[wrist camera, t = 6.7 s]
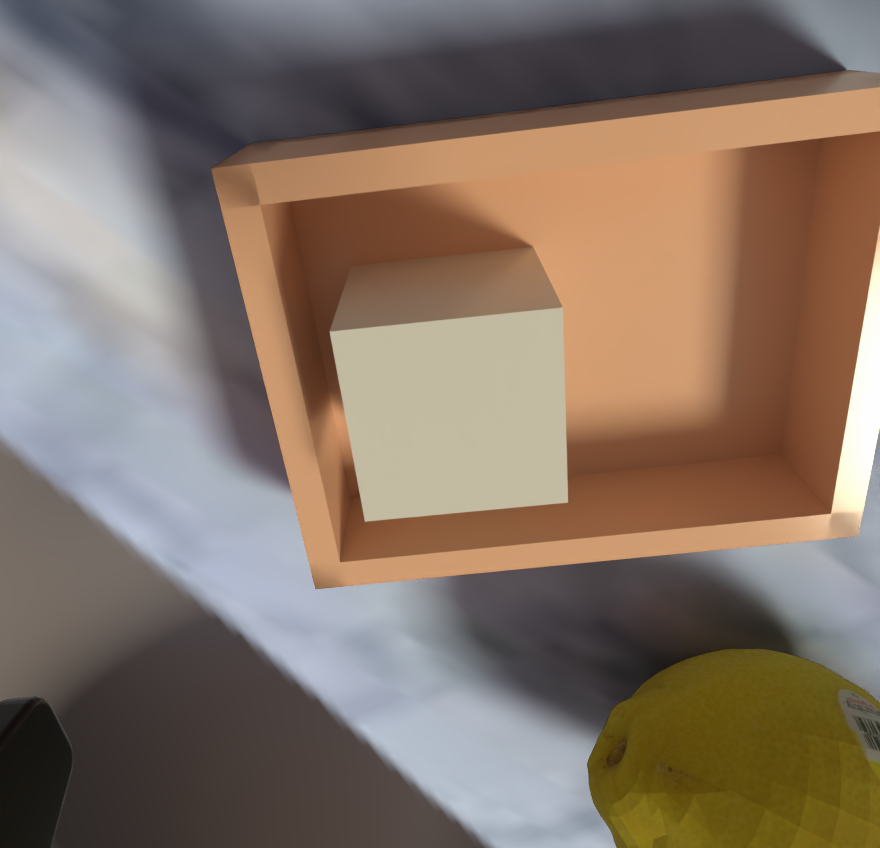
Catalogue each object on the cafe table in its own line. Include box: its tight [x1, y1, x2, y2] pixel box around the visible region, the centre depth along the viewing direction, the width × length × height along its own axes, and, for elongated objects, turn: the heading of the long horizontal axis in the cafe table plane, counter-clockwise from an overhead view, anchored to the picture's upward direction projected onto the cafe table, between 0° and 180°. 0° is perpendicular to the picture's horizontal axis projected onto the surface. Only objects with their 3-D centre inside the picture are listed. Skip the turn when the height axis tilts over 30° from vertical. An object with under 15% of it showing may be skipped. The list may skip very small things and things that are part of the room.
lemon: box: [587, 649, 880, 848], centre depth 20 cm, size 11×8×8 cm
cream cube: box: [330, 247, 568, 522], centre depth 15 cm, size 4×4×4 cm
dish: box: [211, 70, 880, 589], centre depth 16 cm, size 12×9×3 cm
